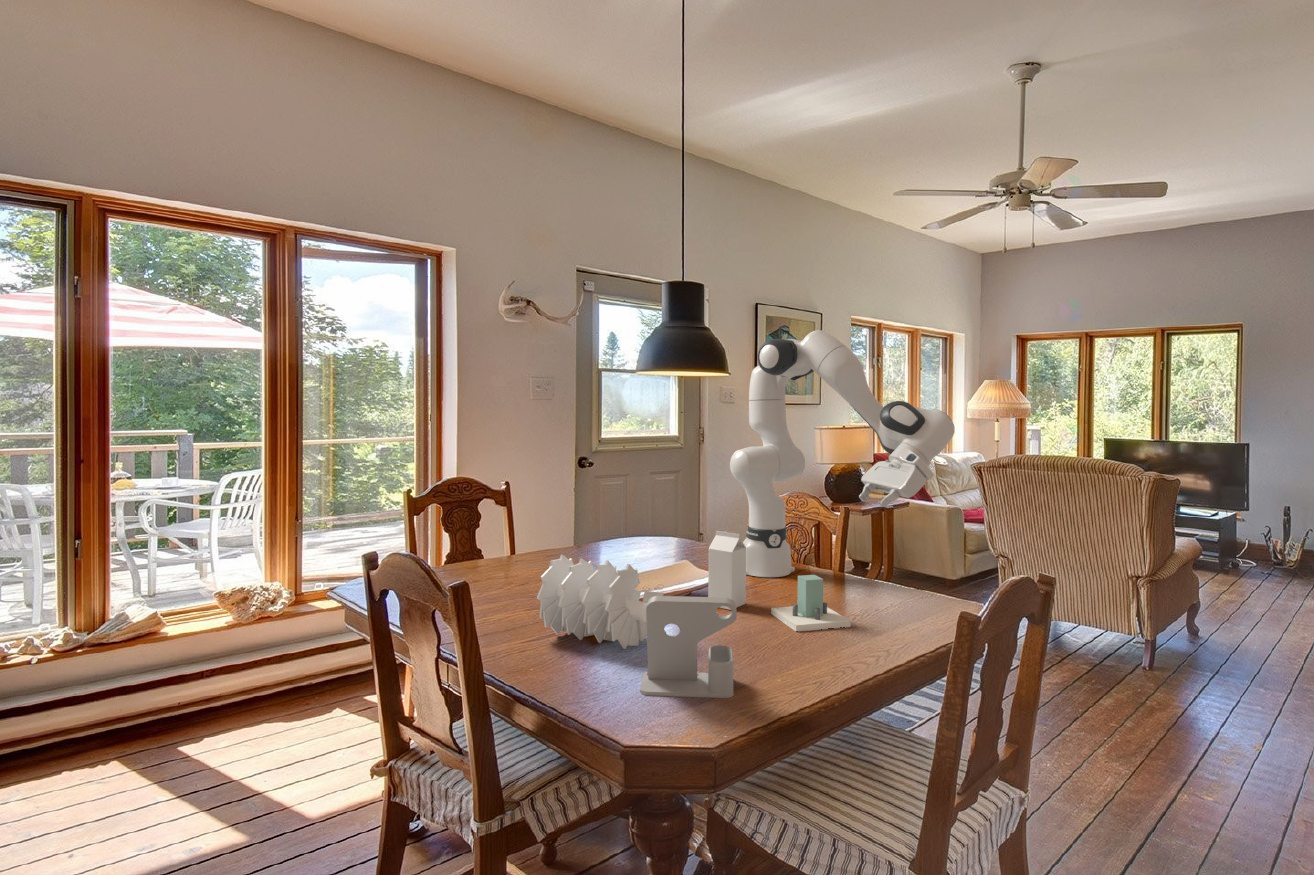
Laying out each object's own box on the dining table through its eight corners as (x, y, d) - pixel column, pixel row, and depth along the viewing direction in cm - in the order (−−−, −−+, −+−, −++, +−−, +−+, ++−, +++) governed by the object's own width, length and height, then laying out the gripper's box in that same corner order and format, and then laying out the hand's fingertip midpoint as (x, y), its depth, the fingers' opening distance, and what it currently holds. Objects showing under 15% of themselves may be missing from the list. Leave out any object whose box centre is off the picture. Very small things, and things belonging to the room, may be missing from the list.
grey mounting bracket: (733, 677, 140) (734, 585, 139) (735, 698, 130) (736, 600, 129) (644, 674, 142) (644, 583, 141) (639, 695, 132) (639, 597, 131)
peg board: (771, 614, 181) (771, 598, 181) (822, 610, 185) (822, 594, 184) (795, 631, 168) (796, 614, 167) (850, 627, 171) (850, 610, 171)
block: (797, 612, 178) (797, 575, 177) (813, 610, 179) (814, 574, 178) (805, 617, 173) (806, 580, 173) (822, 616, 174) (823, 579, 174)
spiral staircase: (633, 673, 152) (540, 646, 165) (672, 618, 166) (582, 597, 178) (616, 606, 144) (519, 583, 157) (658, 553, 157) (565, 536, 170)
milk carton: (731, 610, 184) (732, 536, 183) (707, 605, 188) (708, 533, 187) (745, 604, 189) (746, 532, 188) (722, 599, 194) (723, 529, 192)
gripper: (877, 451, 196) (843, 488, 194) (922, 458, 176) (885, 499, 174) (891, 467, 197) (858, 504, 195) (938, 476, 177) (901, 517, 175)
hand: (871, 502), depth 184 cm, fingers open, 8 cm apart
